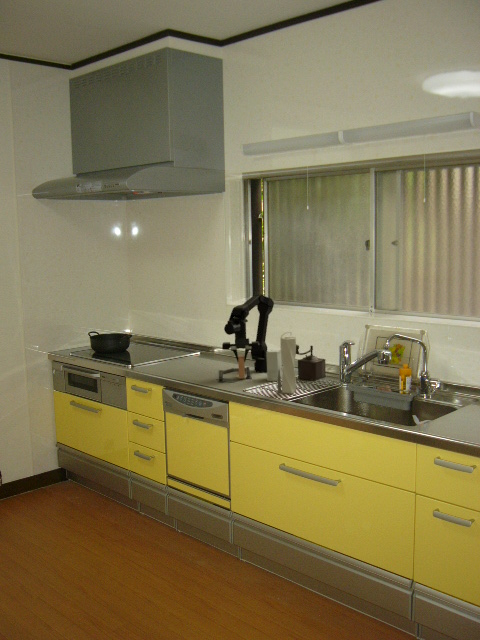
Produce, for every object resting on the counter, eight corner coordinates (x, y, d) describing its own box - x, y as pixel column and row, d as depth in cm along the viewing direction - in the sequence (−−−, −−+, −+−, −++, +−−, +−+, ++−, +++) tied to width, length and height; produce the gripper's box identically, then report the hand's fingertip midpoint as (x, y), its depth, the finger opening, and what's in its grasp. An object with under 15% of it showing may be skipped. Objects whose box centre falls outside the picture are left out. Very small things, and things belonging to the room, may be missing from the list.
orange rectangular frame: (244, 374, 343) (244, 355, 342) (244, 378, 335) (244, 358, 334) (238, 374, 343) (238, 355, 342) (238, 378, 335) (238, 358, 334)
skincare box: (278, 381, 331) (277, 352, 328) (266, 381, 332) (265, 351, 330) (282, 377, 338) (281, 349, 336) (271, 377, 340) (270, 348, 338)
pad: (223, 377, 342) (223, 377, 342) (238, 381, 334) (238, 380, 334) (216, 379, 339) (216, 379, 339) (231, 382, 331) (231, 382, 331)
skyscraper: (283, 389, 315) (281, 331, 311) (299, 390, 312) (298, 331, 308) (277, 394, 307) (275, 334, 304) (293, 395, 304) (292, 334, 300)
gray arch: (251, 377, 341) (251, 366, 340) (251, 381, 332) (251, 370, 331) (218, 378, 341) (218, 367, 340) (217, 382, 332) (217, 371, 331)
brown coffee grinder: (308, 374, 345) (307, 340, 342) (326, 376, 338) (325, 341, 335) (290, 380, 333) (289, 344, 331) (308, 382, 326) (307, 346, 323)
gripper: (221, 334, 328) (222, 366, 330) (259, 333, 328) (260, 364, 330) (222, 331, 339) (223, 361, 341) (258, 330, 339) (259, 360, 341)
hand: (241, 362), depth 338 cm, fingers closed on orange rectangular frame, 3 cm apart
